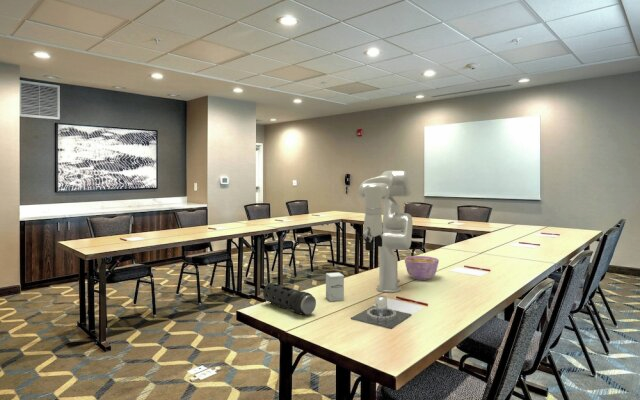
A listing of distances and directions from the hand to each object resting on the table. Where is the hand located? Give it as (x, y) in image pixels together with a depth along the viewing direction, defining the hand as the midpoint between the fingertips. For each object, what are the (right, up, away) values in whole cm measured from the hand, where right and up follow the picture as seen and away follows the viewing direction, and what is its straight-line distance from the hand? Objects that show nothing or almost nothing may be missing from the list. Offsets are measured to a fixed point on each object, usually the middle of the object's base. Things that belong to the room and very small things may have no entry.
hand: (374, 248), depth 178 cm
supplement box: (-17, -27, +15) cm, 36 cm away
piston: (+2, -28, -11) cm, 30 cm away
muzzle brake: (-39, -29, 0) cm, 48 cm away
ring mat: (+2, -28, -11) cm, 30 cm away
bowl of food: (+35, -25, +52) cm, 68 cm away
